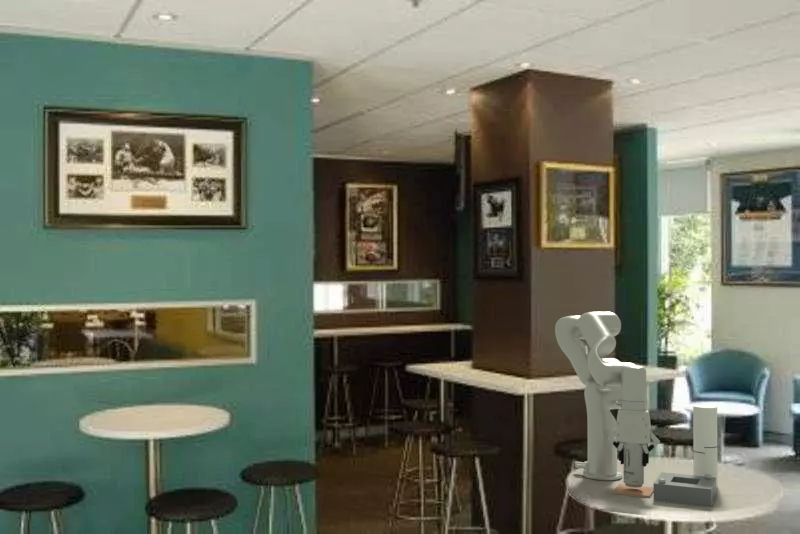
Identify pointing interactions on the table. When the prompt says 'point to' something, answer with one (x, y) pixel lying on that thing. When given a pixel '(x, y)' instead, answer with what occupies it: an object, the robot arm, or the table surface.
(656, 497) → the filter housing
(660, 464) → the table surface
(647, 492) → the coaster
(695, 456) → the cylindrical container
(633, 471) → the energy drink can
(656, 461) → the table surface
